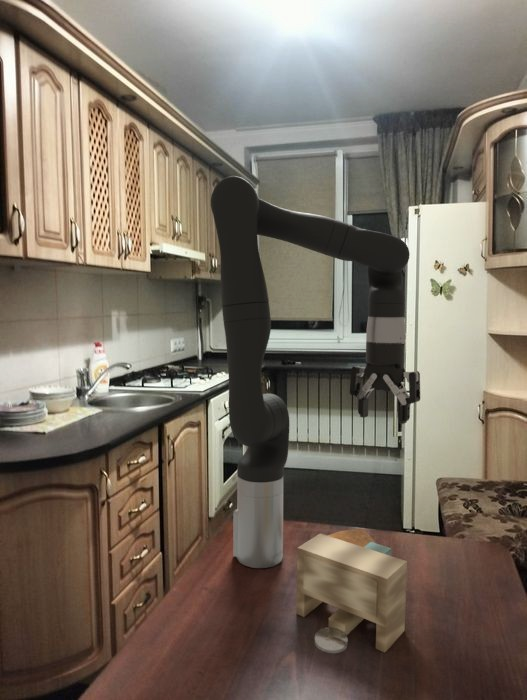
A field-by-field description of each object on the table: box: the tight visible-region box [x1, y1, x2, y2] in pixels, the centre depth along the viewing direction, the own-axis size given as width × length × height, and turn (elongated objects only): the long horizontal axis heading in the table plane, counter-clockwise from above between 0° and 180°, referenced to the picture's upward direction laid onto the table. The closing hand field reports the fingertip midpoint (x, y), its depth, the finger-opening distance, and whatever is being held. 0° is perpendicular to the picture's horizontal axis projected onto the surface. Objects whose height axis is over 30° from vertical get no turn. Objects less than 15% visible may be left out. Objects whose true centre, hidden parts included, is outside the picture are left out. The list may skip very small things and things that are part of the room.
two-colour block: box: [328, 542, 393, 636], centre depth 91 cm, size 4×15×9 cm, turn 142°
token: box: [314, 626, 349, 654], centre depth 84 cm, size 5×5×1 cm
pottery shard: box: [327, 528, 377, 547], centre depth 116 cm, size 10×9×2 cm
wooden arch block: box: [296, 533, 408, 653], centre depth 88 cm, size 16×7×12 cm, turn 52°
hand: (383, 419), depth 110 cm, fingers open, 8 cm apart
